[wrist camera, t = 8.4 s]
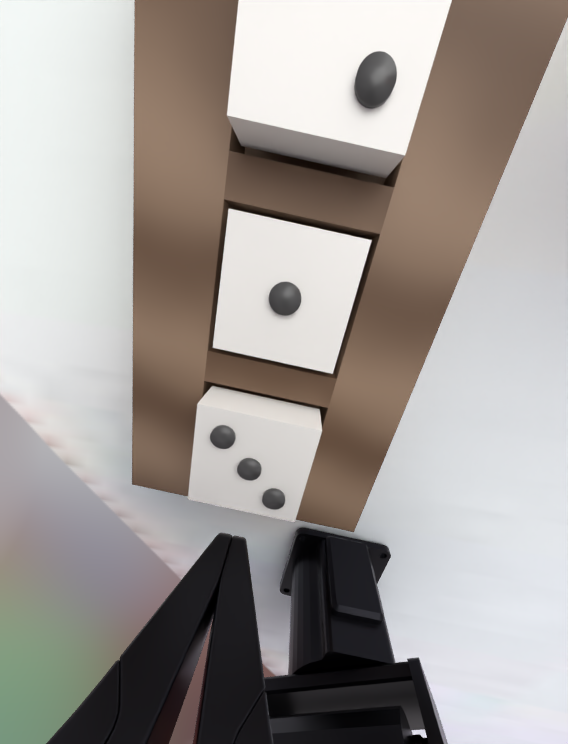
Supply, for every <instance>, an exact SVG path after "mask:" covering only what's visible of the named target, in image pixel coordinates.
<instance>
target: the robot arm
mask: <svg viewBox="0 0 568 744" xmlns="http://www.w3.org/2000/svg"><path fill="white" fill-rule="evenodd" d="M390 557H391V554H390V551H389V548H388V547H387V546H385V545H381V544H376V543H372V542H367V541H362V540H358V539H353V538H348V537H344V536H339V535H334V534H330V533H325V532H320V531H316V530H311V529H306V528H300V529H298V530H297V531H296V534H295V537H294V541H293V544H292V547H291V550H290V554H289V557H288V560H287V563H286V566H285V570H284V573H283V576H282V579H281V583H280V592H281V593H282V594H285V595H289V596H291V616H290V643H289V670H288V675H284V676H275V677H266V678H264V674H263V666H262V658H261V651H260V643H259V635H258V628H257V620H256V612H255V605H254V597H253V589H252V582H251V574H250V566H249V559H248V551H247V543H246V539H245V538H244V537H239V536H233V537H232V535H230V534H225V533H219V534H218V535H217V536H216V537H215V539H214V540H213V541H212V542H211V544H210V545H209V546H208V547H207V549H206V550H205V551H204V552H203V554H202V555H201V556H200V557H199V559H198V560H197V561H196V562H195V564H194V565H193V566H192V567H191V569H190V570H189V571H188V572H187V574H186V575H185V576H184V577H183V579H182V580H181V581H180V582H179V584H178V585H177V586H176V587H175V589H174V590H173V591H172V592H171V594H170V595H169V596H168V597H167V599H166V600H165V601H164V602H163V604H162V605H161V606H160V607H159V609H158V610H157V611H156V613H155V614H154V615H153V616H152V618H151V619H150V620H149V621H148V622H147V624H146V625H145V626H144V627H143V629H142V630H141V631H140V632H139V634H138V635H137V636H136V637H135V639H134V640H133V641H132V643H131V644H130V645H129V646H128V647H127V649H126V650H125V651H124V653H123V654H122V655H121V657H120V661H119V660H118V661H116V662H115V664H114V665H113V666H112V667H111V668H110V670H109V671H108V672H107V674H106V675H105V676H104V677H103V679H102V680H101V681H100V682H99V683H98V685H97V686H96V687H95V688H94V689H93V691H92V692H91V693H90V694H89V696H88V697H87V698H86V699H85V700H84V701H83V703H82V704H81V705H80V706H79V707H78V709H77V710H76V711H75V712H74V713H73V714H72V716H71V717H70V718H69V719H68V720H67V721H66V722H65V723H64V724H63V726H62V727H61V728H60V729H59V730H58V731H57V732H56V733H55V735H54V736H53V737H52V738H51V739H50V740H49V741H48V742H47V743H46V744H169V741H170V738H171V736H172V733H173V730H174V727H175V725H176V722H177V719H178V716H179V713H180V711H181V708H182V705H183V702H184V699H185V696H186V694H187V690H188V688H189V685H190V682H191V680H192V677H193V673H194V671H195V668H196V665H197V663H198V660H199V657H200V654H201V651H202V648H203V646H204V643H205V640H206V637H207V634H208V631H209V628H210V625H211V622H212V627H211V632H210V639H209V644H208V651H207V657H206V663H205V669H204V676H203V683H202V689H201V695H200V702H199V707H198V714H197V721H196V727H195V733H194V740H193V744H448V743H447V739H446V736H445V733H444V730H443V727H442V724H441V720H440V717H439V714H438V711H437V708H436V705H435V702H434V699H433V696H432V694H431V691H430V688H429V685H428V682H427V680H426V677H425V674H424V671H423V668H422V666H421V663H420V660H419V658H410V659H408V662H399V663H395V659H394V655H393V651H392V647H391V642H390V638H389V634H388V630H387V626H386V621H385V617H384V612H383V608H382V604H381V600H380V595H379V591H378V587H377V583H378V581H379V579H380V577H381V575H382V573H383V571H384V569H385V567H386V565H387V563H388V561H389V559H390ZM212 619H213V621H212ZM420 729H425V731H426V735H427V738H422V737H421V735H412V731H411V730H420Z"/></svg>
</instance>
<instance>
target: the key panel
mask: <svg viewBox="0 0 568 744" xmlns="http://www.w3.org/2000/svg"><path fill="white" fill-rule="evenodd" d="M238 1H239V0H135V38H134V236H133V433H132V484H133V485H138V486H142V487H147V488H152V489H156V490H161V491H166V492H170V493H175V494H179V495H184V496H188V491H189V481H190V472H191V462H192V452H193V442H194V432H195V423H196V413H197V404H198V402H199V401H200V400H201V399H202V398H203V396H204V395H205V394H206V393H207V392H208V390H209V389H210V388H211V387H212V386H216V387H220V388H225V389H229V390H234V391H239V392H243V393H248V394H252V395H257V396H262V397H266V398H271V399H275V400H280V401H285V402H289V403H294V404H298V405H303V406H307V407H312V408H317V409H320V416H321V424H322V433H321V437H320V440H319V443H318V447H317V450H316V453H315V457H314V460H313V463H312V467H311V470H310V473H309V477H308V480H307V483H306V487H305V490H304V493H303V496H302V500H301V503H300V506H299V510H298V513H297V516H296V520H300V521H305V522H310V523H314V524H319V525H324V526H328V527H333V528H338V529H342V530H347V531H352V532H354V530H355V528H356V525H357V523H358V521H359V518H360V516H361V513H362V511H363V509H364V506H365V504H366V501H367V499H368V496H369V494H370V492H371V489H372V487H373V484H374V482H375V480H376V477H377V475H378V472H379V470H380V468H381V465H382V463H383V460H384V458H385V456H386V453H387V451H388V448H389V446H390V444H391V441H392V439H393V436H394V434H395V432H396V429H397V427H398V424H399V422H400V420H401V417H402V415H403V412H404V410H405V407H406V405H407V403H408V400H409V398H410V395H411V393H412V391H413V388H414V386H415V383H416V381H417V379H418V376H419V374H420V371H421V369H422V367H423V364H424V362H425V359H426V357H427V355H428V352H429V350H430V347H431V345H432V343H433V340H434V338H435V335H436V333H437V331H438V328H439V326H440V323H441V321H442V318H443V316H444V314H445V311H446V309H447V306H448V304H449V302H450V299H451V297H452V294H453V292H454V290H455V287H456V285H457V282H458V280H459V278H460V275H461V273H462V270H463V268H464V266H465V263H466V261H467V258H468V256H469V254H470V251H471V249H472V246H473V244H474V242H475V239H476V237H477V234H478V232H479V229H480V227H481V225H482V222H483V220H484V217H485V215H486V213H487V210H488V208H489V205H490V203H491V201H492V198H493V196H494V193H495V191H496V189H497V186H498V184H499V181H500V179H501V177H502V174H503V172H504V169H505V167H506V165H507V162H508V160H509V157H510V155H511V153H512V150H513V148H514V145H515V143H516V140H517V138H518V136H519V133H520V131H521V128H522V126H523V124H524V121H525V119H526V116H527V114H528V112H529V109H530V107H531V104H532V102H533V100H534V97H535V95H536V92H537V90H538V88H539V85H540V83H541V80H542V78H543V76H544V73H545V71H546V68H547V66H548V64H549V61H550V59H551V56H552V54H553V51H554V49H555V47H556V44H557V42H558V39H559V37H560V35H561V32H562V30H563V27H564V25H565V23H566V20H567V18H568V0H452V2H451V5H450V8H449V11H448V15H447V18H446V21H445V25H444V28H443V31H442V35H441V38H440V41H439V45H438V48H437V51H436V55H435V58H434V61H433V65H432V68H431V71H430V75H429V78H428V81H427V85H426V88H425V91H424V95H423V98H422V101H421V105H420V108H419V111H418V114H417V118H416V121H415V124H414V128H413V131H412V134H411V138H410V141H409V144H408V148H407V151H406V154H405V156H404V157H403V159H402V160H401V161H400V162H399V163H398V165H397V166H396V167H395V168H394V169H393V170H392V172H391V173H390V174H389V175H388V176H387V178H382V177H378V176H374V175H369V174H365V173H360V172H356V171H351V170H347V169H342V168H338V167H333V166H329V165H324V164H320V163H316V162H311V161H307V160H302V159H298V158H293V157H289V156H284V155H280V154H275V153H271V152H266V151H262V150H257V149H253V148H249V147H244V146H241V144H240V142H239V140H238V138H237V136H236V134H235V132H234V129H233V127H232V125H231V123H230V121H229V119H228V117H227V109H228V99H229V89H230V79H231V70H232V60H233V50H234V40H235V30H236V21H237V11H238ZM228 209H233V210H238V211H242V212H247V213H251V214H256V215H260V216H265V217H269V218H274V219H278V220H283V221H287V222H292V223H296V224H301V225H305V226H310V227H314V228H319V229H323V230H328V231H332V232H337V233H341V234H346V235H350V236H355V237H359V238H364V239H368V240H372V241H371V244H370V248H369V251H368V255H367V258H366V262H365V265H364V268H363V272H362V275H361V279H360V282H359V286H358V289H357V292H356V296H355V299H354V303H353V306H352V310H351V313H350V316H349V320H348V323H347V327H346V330H345V334H344V337H343V340H342V344H341V347H340V351H339V354H338V358H337V361H336V364H335V368H334V371H333V374H331V373H326V372H322V371H317V370H313V369H308V368H304V367H299V366H294V365H290V364H285V363H281V362H276V361H272V360H267V359H262V358H258V357H253V356H249V355H244V354H240V353H235V352H230V351H226V350H221V349H217V348H213V340H214V331H215V322H216V314H217V305H218V296H219V288H220V279H221V270H222V261H223V253H224V244H225V235H226V227H227V218H228Z"/></svg>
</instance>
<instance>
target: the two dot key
mask: <svg viewBox="0 0 568 744" xmlns="http://www.w3.org/2000/svg"><path fill="white" fill-rule="evenodd" d="M451 2H452V0H239V1H238V11H237V21H236V30H235V40H234V50H233V60H232V70H231V79H230V89H229V99H228V109H227V117H228V119H229V121H230V123H231V125H232V127H233V129H234V132H235V134H236V136H237V138H238V140H239V142H240V144H241V146H244V147H249V148H253V149H257V150H262V151H266V152H271V153H275V154H280V155H284V156H289V157H293V158H298V159H302V160H307V161H311V162H316V163H320V164H324V165H329V166H333V167H338V168H342V169H347V170H351V171H356V172H360V173H365V174H369V175H374V176H378V177H382V178H387V176H388V175H389V174H390V173H391V172H392V170H393V169H394V168H395V167H396V166H397V165H398V163H399V162H400V161H401V160H402V159H403V157H404V156H405V154H406V151H407V148H408V144H409V141H410V138H411V134H412V131H413V128H414V124H415V121H416V118H417V114H418V111H419V108H420V105H421V101H422V98H423V95H424V91H425V88H426V85H427V81H428V78H429V75H430V71H431V68H432V65H433V61H434V58H435V55H436V51H437V48H438V45H439V41H440V38H441V35H442V31H443V28H444V25H445V21H446V18H447V15H448V11H449V8H450V5H451Z"/></svg>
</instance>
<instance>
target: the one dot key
mask: <svg viewBox="0 0 568 744" xmlns="http://www.w3.org/2000/svg"><path fill="white" fill-rule="evenodd" d="M371 241H372V240H368V239H364V238H359V237H355V236H350V235H346V234H341V233H337V232H332V231H328V230H323V229H319V228H314V227H310V226H305V225H301V224H296V223H292V222H287V221H283V220H278V219H274V218H269V217H265V216H260V215H256V214H251V213H247V212H242V211H238V210H233V209H228V218H227V227H226V235H225V244H224V253H223V261H222V270H221V279H220V288H219V296H218V305H217V314H216V322H215V331H214V340H213V348H217V349H221V350H226V351H230V352H235V353H240V354H244V355H249V356H253V357H258V358H262V359H267V360H272V361H276V362H281V363H285V364H290V365H294V366H299V367H304V368H308V369H313V370H317V371H322V372H326V373H331V374H333V371H334V368H335V364H336V361H337V358H338V354H339V351H340V347H341V344H342V340H343V337H344V334H345V330H346V327H347V323H348V320H349V316H350V313H351V310H352V306H353V303H354V299H355V296H356V292H357V289H358V286H359V282H360V279H361V275H362V272H363V268H364V265H365V262H366V258H367V255H368V251H369V248H370V244H371Z"/></svg>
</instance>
